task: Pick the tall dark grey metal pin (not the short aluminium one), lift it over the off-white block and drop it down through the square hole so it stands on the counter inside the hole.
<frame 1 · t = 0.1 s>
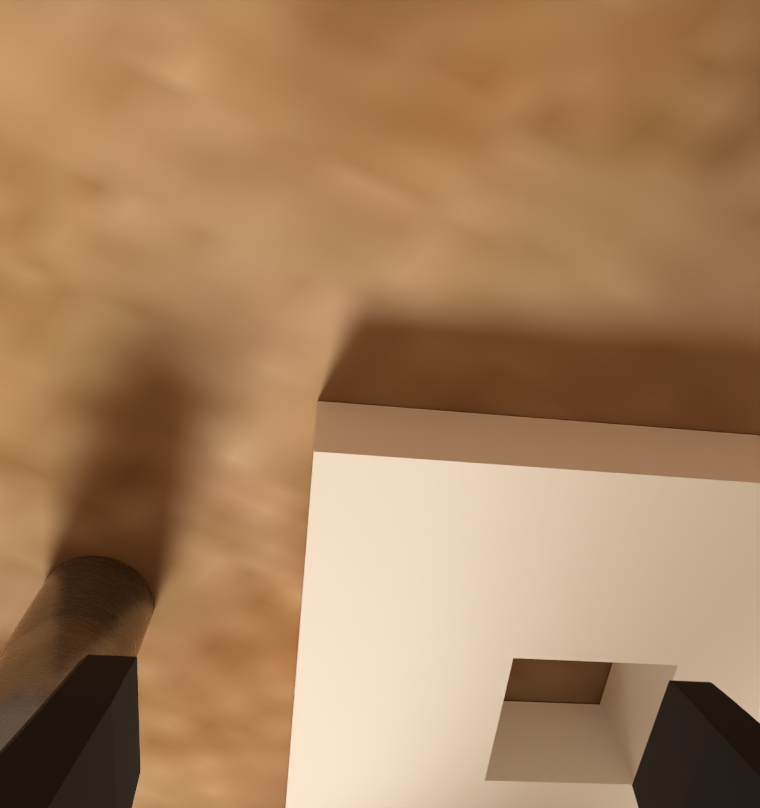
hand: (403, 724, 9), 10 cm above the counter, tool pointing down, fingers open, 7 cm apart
tall pin: (98, 601, 20), on the counter
hole block: (547, 648, 22), on the counter
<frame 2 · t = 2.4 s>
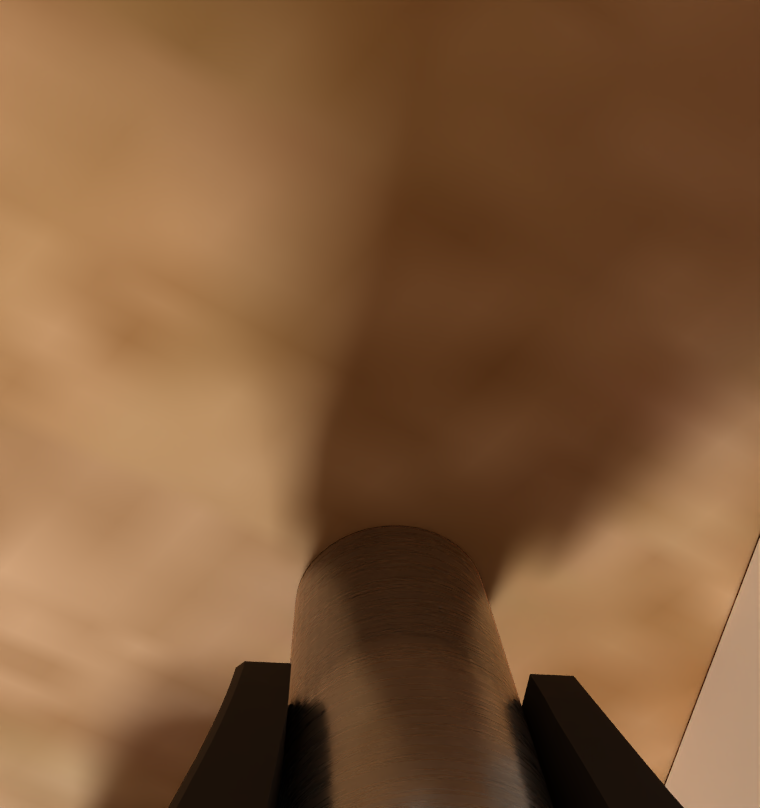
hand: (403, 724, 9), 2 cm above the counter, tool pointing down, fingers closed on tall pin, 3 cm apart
tall pin: (390, 606, 11), on the counter, touching gripper
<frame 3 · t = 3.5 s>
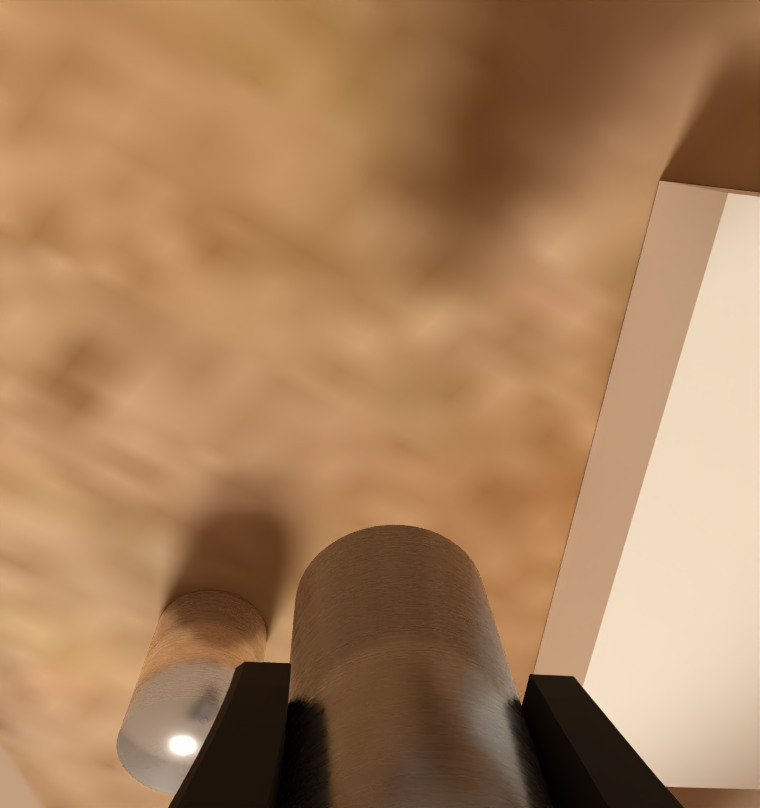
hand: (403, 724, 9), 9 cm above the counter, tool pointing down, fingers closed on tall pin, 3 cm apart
tall pin: (390, 606, 11), point 7 cm above the counter, touching gripper
short pin: (212, 634, 20), on the counter
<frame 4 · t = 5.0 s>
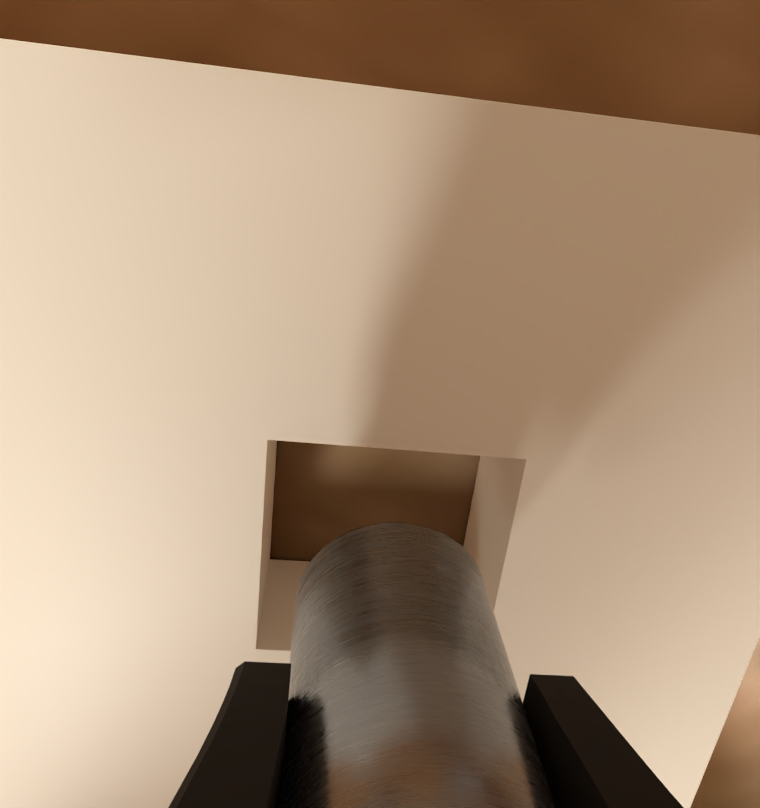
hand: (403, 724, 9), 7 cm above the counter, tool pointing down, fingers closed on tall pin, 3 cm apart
tall pin: (390, 603, 11), point 4 cm above the counter, touching gripper
hole block: (376, 481, 15), on the counter
when the fingers open (4 cm above the counter, at t = 6.2 s): tall pin drops 1 cm, resting in hole block.
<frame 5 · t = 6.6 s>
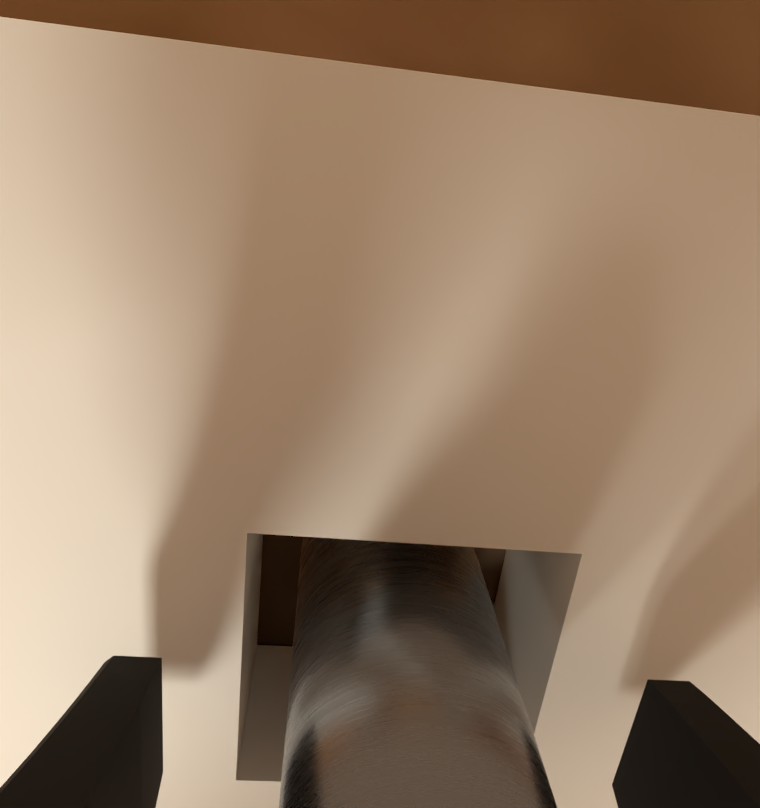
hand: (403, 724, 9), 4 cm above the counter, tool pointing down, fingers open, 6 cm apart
tall pin: (386, 551, 13), resting in hole block
hole block: (385, 555, 13), on the counter
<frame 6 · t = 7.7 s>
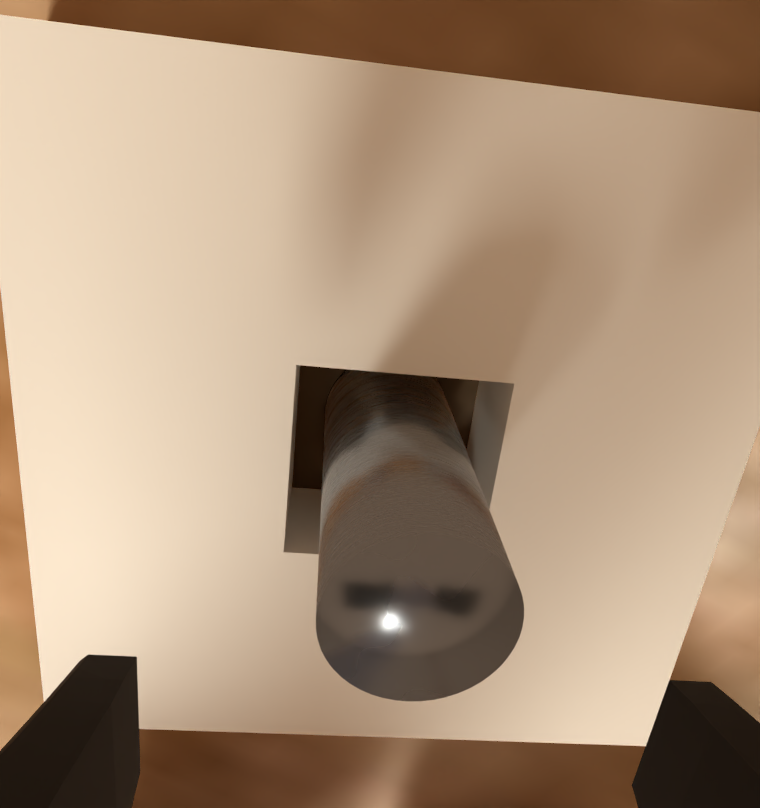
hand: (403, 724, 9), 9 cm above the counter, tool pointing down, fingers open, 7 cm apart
tall pin: (386, 414, 18), resting in hole block
hole block: (385, 416, 18), on the counter
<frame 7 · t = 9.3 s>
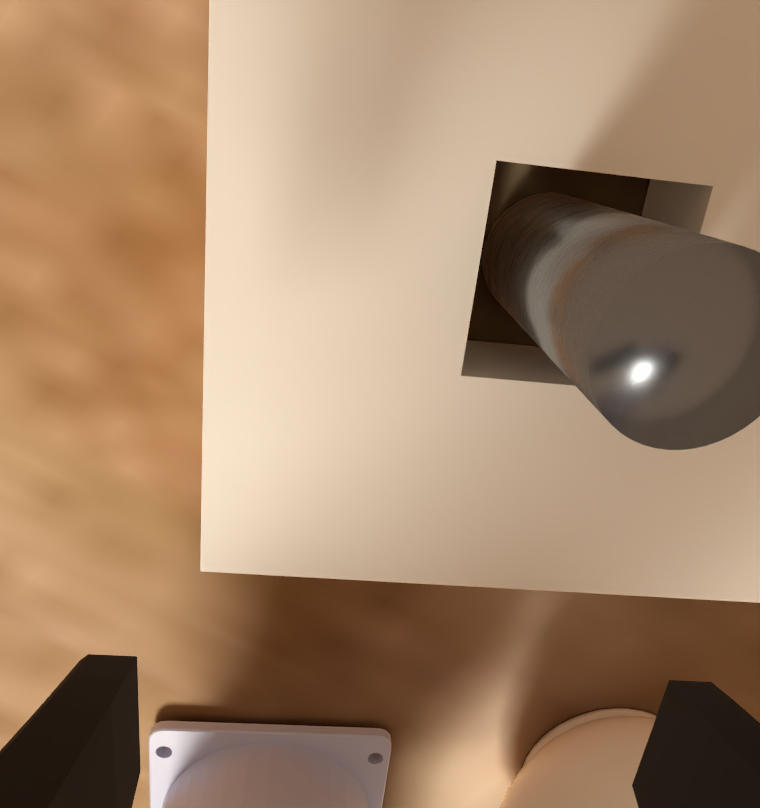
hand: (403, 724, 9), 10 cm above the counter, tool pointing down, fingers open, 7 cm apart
tall pin: (543, 257, 17), resting in hole block
lidded jar: (600, 765, 25), on the counter
hole block: (542, 260, 17), on the counter
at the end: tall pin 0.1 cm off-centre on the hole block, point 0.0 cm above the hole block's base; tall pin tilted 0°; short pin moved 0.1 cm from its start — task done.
